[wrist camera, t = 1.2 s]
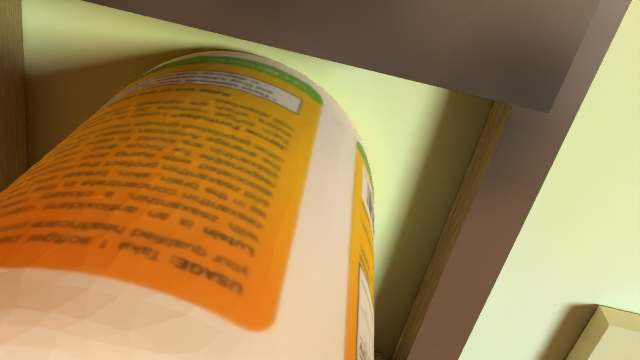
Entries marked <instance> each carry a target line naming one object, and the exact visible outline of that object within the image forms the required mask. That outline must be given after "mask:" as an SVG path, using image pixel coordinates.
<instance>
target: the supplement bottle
mask: <svg viewBox="0 0 640 360" xmlns="http://www.w3.org/2000/svg"><path fill="white" fill-rule="evenodd" d="M0 360H374V192H373V182H372V174H371V168H370V163H369V159H368V155H367V152H366V149H365V146H364V143H363V141H362V139H361V136H360V134H359V133H358V131H357V129H356V127H355V125H354V124H353V122H352V121H351V119H350V118H349V116H348V115H347V113H346V112H345V111H344V110H343V108H342V107H341V106H340V105H339V103H338V102H337V101H336V100H335V99H334V98H333V97H332V96H331V95H330V94H328V93H327V92H326V91H325V90H324V89H323V88H321V87H320V86H319V85H317V84H316V83H315V82H313V81H312V80H311V79H309V78H308V77H306V76H305V75H303V74H301V73H299V72H298V71H296V70H294V69H292V68H289V67H287V66H285V65H283V64H281V63H278V62H276V61H273V60H270V59H267V58H264V57H260V56H256V55H252V54H248V53H241V52H232V51H206V52H198V53H193V54H189V55H185V56H181V57H178V58H175V59H172V60H169V61H167V62H164V63H162V64H160V65H158V66H156V67H154V68H152V69H151V70H149V71H147V72H145V73H144V74H143V75H141V76H140V77H138V78H137V79H135V80H134V81H133V82H131V83H130V84H128V85H127V86H126V87H124V88H123V89H122V90H121V91H120V92H118V93H117V94H116V95H115V96H114V97H113V98H111V99H110V100H109V101H108V102H107V103H105V104H104V105H103V106H102V107H101V108H100V109H99V110H98V111H97V112H96V113H94V114H93V115H92V116H91V117H90V118H89V119H88V120H86V121H85V122H84V123H83V124H82V125H80V126H79V127H78V128H77V129H76V130H75V131H74V132H73V133H71V134H70V135H69V136H68V137H67V138H65V139H64V140H63V141H62V142H61V143H59V144H58V145H57V146H56V147H55V148H53V149H52V150H51V151H50V152H49V153H48V154H46V155H45V156H44V157H43V158H42V159H41V160H40V161H38V162H37V163H36V164H34V165H33V166H32V167H31V168H30V169H29V170H28V171H27V172H25V173H24V174H23V175H21V176H20V177H19V178H18V179H17V180H15V181H14V182H13V183H12V184H11V185H10V186H9V187H8V188H7V189H5V190H4V191H2V192H1V193H0Z"/></svg>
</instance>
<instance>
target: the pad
mask: <svg viewBox="0 0 640 360" xmlns="http://www.w3.org/2000/svg"><path fill="white" fill-rule="evenodd" d="M566 360H640V315H638V314H634V313H630V312H625V311H621V310H617V309H613V308H608V307H604V306H600V305H599V307H598V308H597V310H596V312H595V313H594V315H593V316H592V318H591V320H590V321H589V323H588V325H587V326H586V328H585V329H584V331H583V333H582V334H581V336H580V337H579V339H578V341H577V342H576V344H575V346H574V347H573V349H572V350H571V352H570V354H569V355H568V357H567V358H566Z"/></svg>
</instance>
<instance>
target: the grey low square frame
mask: <svg viewBox="0 0 640 360" xmlns="http://www.w3.org/2000/svg"><path fill="white" fill-rule="evenodd" d="M82 1H87V2H91V3H95V4H99V5H103V6H107V7H111V8H115V9H119V10H124V11H128V12H132V13H136V14H140V15H144V16H148V17H152V18H157V19H161V20H165V21H169V22H173V23H177V24H181V25H185V26H189V27H194V28H198V29H202V30H206V31H210V32H214V33H218V34H222V35H227V36H231V37H235V38H239V39H243V40H247V41H251V42H255V43H259V44H264V45H268V46H272V47H276V48H280V49H284V50H288V51H292V52H297V53H301V54H305V55H309V56H313V57H317V58H321V59H325V60H329V61H334V62H338V63H342V64H346V65H350V66H354V67H358V68H362V69H367V70H371V71H375V72H379V73H383V74H387V75H391V76H395V77H399V78H404V79H408V80H412V81H416V82H420V83H424V84H428V85H432V86H437V87H441V88H445V89H449V90H453V91H457V92H461V93H465V94H469V95H474V96H478V97H482V98H486V99H490V100H494V104H493V106H492V109H491V111H490V114H489V116H488V119H487V121H486V124H485V126H484V129H483V131H482V134H481V136H480V139H479V141H478V144H477V146H476V149H475V151H474V154H473V156H472V159H471V161H470V164H469V166H468V169H467V171H466V174H465V176H464V179H463V181H462V184H461V186H460V189H459V191H458V194H457V196H456V199H455V201H454V204H453V206H452V209H451V211H450V214H449V216H448V219H447V221H446V224H445V226H444V229H443V231H442V234H441V236H440V239H439V241H438V244H437V246H436V249H435V251H434V254H433V256H432V259H431V261H430V264H429V266H428V269H427V271H426V274H425V276H424V279H423V281H422V284H421V286H420V289H419V291H418V294H417V296H416V299H415V301H414V304H413V306H412V309H411V311H410V314H409V316H408V319H407V321H406V324H405V326H404V329H403V331H402V334H401V336H400V339H399V341H398V344H397V346H396V349H395V351H394V354H393V356H392V359H391V360H458V358H459V356H460V354H461V352H462V350H463V348H464V346H465V344H466V342H467V340H468V338H469V336H470V334H471V332H472V329H473V327H474V325H475V323H476V321H477V319H478V317H479V315H480V313H481V311H482V309H483V307H484V305H485V303H486V300H487V298H488V296H489V294H490V292H491V290H492V288H493V286H494V284H495V282H496V280H497V278H498V276H499V274H500V272H501V269H502V267H503V265H504V263H505V261H506V259H507V257H508V255H509V253H510V251H511V249H512V247H513V245H514V243H515V241H516V238H517V236H518V234H519V232H520V230H521V228H522V226H523V224H524V222H525V220H526V218H527V216H528V214H529V212H530V209H531V207H532V205H533V203H534V201H535V199H536V197H537V195H538V193H539V191H540V189H541V187H542V185H543V183H544V181H545V178H546V176H547V174H548V172H549V170H550V168H551V166H552V164H553V162H554V160H555V158H556V156H557V154H558V152H559V150H560V147H561V145H562V143H563V141H564V139H565V137H566V135H567V133H568V131H569V129H570V127H571V125H572V123H573V121H574V118H575V116H576V114H577V112H578V110H579V108H580V106H581V104H582V102H583V100H584V98H585V96H586V94H587V92H588V90H589V87H590V85H591V83H592V81H593V79H594V77H595V75H596V73H597V71H598V69H599V67H600V65H601V63H602V61H603V59H604V56H605V54H606V52H607V50H608V48H609V46H610V44H611V42H612V40H613V38H614V36H615V34H616V32H617V30H618V27H619V25H620V23H621V21H622V19H623V17H624V15H625V13H626V11H627V9H628V7H629V5H630V3H631V1H632V0H82ZM27 171H28V150H27V127H26V103H25V80H24V56H23V33H22V9H21V0H0V193H1V192H2V191H4V190H5V189H7V188H8V187H9V186H10V185H11V184H12V183H13V182H14V181H15V180H17V179H18V178H19V177H20V176H21V175H23V174H24V173H25V172H27ZM374 360H383V358H382V353H380V352H376V351H374Z"/></svg>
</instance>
